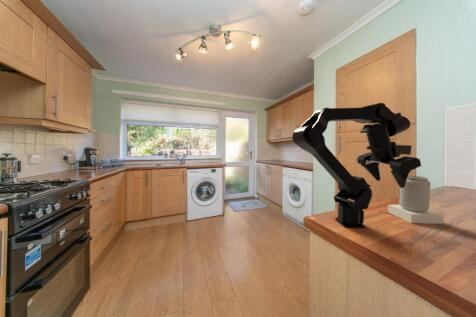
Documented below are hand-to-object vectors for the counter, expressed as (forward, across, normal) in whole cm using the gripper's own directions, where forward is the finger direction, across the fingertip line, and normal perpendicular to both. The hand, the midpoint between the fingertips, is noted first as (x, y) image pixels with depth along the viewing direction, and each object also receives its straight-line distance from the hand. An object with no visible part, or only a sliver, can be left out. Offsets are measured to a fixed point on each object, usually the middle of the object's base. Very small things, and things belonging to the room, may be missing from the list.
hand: (389, 183), depth 60 cm
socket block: (+16, +1, -6) cm, 17 cm away
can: (+13, +1, -7) cm, 15 cm away
